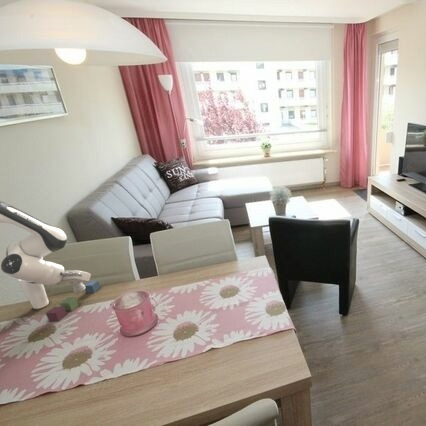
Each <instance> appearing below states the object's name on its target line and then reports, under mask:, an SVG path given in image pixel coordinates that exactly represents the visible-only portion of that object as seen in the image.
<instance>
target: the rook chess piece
mask: <svg viewBox="0 0 426 426" xmlns="http://www.w3.org/2000/svg"><path fill="white" fill-rule="evenodd" d="M72 284H73V287H72V290H73V293H75V294H78V293H81V292H83V291H85V288H86V287H85V284H84V283H77V282H76V283H72Z"/></svg>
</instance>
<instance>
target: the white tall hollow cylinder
mask: <svg viewBox="0 0 426 426" xmlns="http://www.w3.org/2000/svg"><path fill="white" fill-rule="evenodd" d="M17 281H18V284H19V286H20V288H21V290H22V292H23V293H24V295H25V297H26V298H27V299H28V302H29V303H30V304H31V307H32V309H34V310H39V309H42V308H44V307H47V306H48V305H49V303H50V300H49V298H48V295H47V292H46V289H45V285H42V284H33V283H28V282H27V281H25V280H21V279H17Z"/></svg>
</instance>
